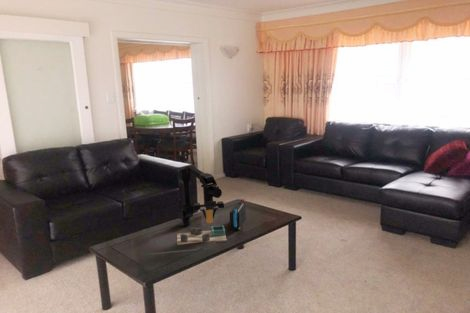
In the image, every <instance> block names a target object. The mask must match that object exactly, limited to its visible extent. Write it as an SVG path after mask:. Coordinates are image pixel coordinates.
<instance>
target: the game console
mask: <svg viewBox="0 0 470 313" xmlns="http://www.w3.org/2000/svg"><path fill="white" fill-rule="evenodd" d="M246 221H247V205H246V200H245V199H244V198H242V199H240V202H239V203H238V202H237V203H236V204H235V205H234V206H233V207H232V209H231V210H230V211H229V224H230V225H229V226H230V228H229V229H230V230H231V231H232V230H235V231H236V230H237V231H240V230H241V229H242V228H243V226H244V224H245V222H246Z"/></svg>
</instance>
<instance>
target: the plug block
mask: <svg viewBox="0 0 470 313" xmlns="http://www.w3.org/2000/svg"><path fill="white" fill-rule="evenodd" d="M205 213H206V218H205V222H206V224H213V223H214V218H213V210H206V209H205Z"/></svg>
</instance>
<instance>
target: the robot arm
mask: <svg viewBox="0 0 470 313" xmlns="http://www.w3.org/2000/svg"><path fill="white" fill-rule="evenodd" d="M192 176H194V177H195V178H197V179H198V180H199V182H200V184H201V185H200V187H201V188H202V190H203V191H202V193H203V203H202V204H201V203H200V202H197V203H196V202H195V203H193V205H192V204H191V195H190V194H191V193H190V181H191V179H192ZM177 177H178V180H179V182H180V183H181V196H182V205H181V207H180V211H179V213H178V215H177V217H178V219H180V220H181V226H182V227H185V228H187V227H190V226H191V225H192V223H191V218H192V217H194V212H195V211H200V212H202V214H203V215H204V218H205V219H206V210H212V211H213V219H214V218H215V215H216V212H217V211H218V210H219V209H225V203H224V201H222V200H219V201H217V200H214V198H216V199H219V198H221V196H222V194H223V191H222V190H221V189H220V186H218V183H217V181H216V180H215V178H214V175H212V174H211V173H209V172H204V171H202V170H200V169H198V168H197V167H195V166H194V165H189V166H188V165H187V166H186V167H185V168H182V169H181V170H179V171H178V172H177Z"/></svg>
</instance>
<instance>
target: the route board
mask: <svg viewBox="0 0 470 313" xmlns="http://www.w3.org/2000/svg"><path fill="white" fill-rule="evenodd" d="M176 236H177V238H176V239H177V240H176V244H177V245H187V244H196V243H206V242H207V243H208V242H215V243H222V242H227V241H228V239H227V236H226V228H225V226H224V225H223V224H222V225H214V226H212V225H211V230H203V228H202V227H198V228H197V227H190V232H183V233H180V232H179V233H177V234H176Z"/></svg>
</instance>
